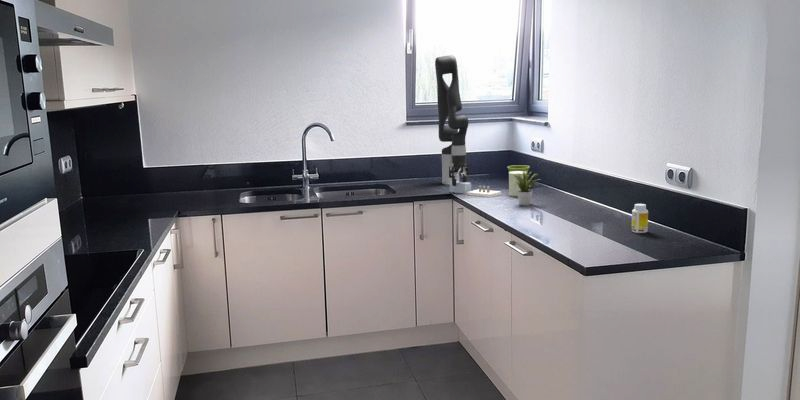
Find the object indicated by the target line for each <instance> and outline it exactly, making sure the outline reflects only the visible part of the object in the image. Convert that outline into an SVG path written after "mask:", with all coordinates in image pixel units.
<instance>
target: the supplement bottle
mask: <svg viewBox="0 0 800 400" xmlns="http://www.w3.org/2000/svg"><path fill="white" fill-rule="evenodd" d="M648 226H649V210H648V209H647V204H645V203H635V204H634V207H633V209H632V210H631V231H632V232H633V233H635V234H645V233H647V232H648V231H649V229H648V228H649V227H648Z"/></svg>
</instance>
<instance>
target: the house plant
mask: <svg viewBox="0 0 800 400" xmlns="http://www.w3.org/2000/svg"><path fill="white" fill-rule="evenodd" d="M532 171H533V170H531V171H530V172H529V173H527V172H526V173H525V171H523V178H522V177H520V176H521V175H520V174H519V173H518V174H519V175H520V176H519V175H518V174H517V175H518V177H519V178H518V177H517V176H516V175H514V177H515V178H516V179H517V180H519V181H518V182H519V183H520V184H519V183H518V182H513V183H516V184H518V186H519V188H520V189H521V190H518V191H517V194H518V197H517V199H518V205H520V206H530V205H531V204H532V197H533V190H530V189H531V188H532V187H533V186H534V185H536V186H539V184H537V181H542V180H543V179H541V178H538V179H534V178H535V177H537V176H538V173H537V172H536V173H534V174H533V175H532V176H531V177H530V178H529V176H530V174H531V173H532ZM521 178H522V179H521ZM522 181H523V182H522ZM526 181H527V183H526ZM516 184H515V185H514V186H515V187H517V186H516Z"/></svg>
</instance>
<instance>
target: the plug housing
mask: <svg viewBox="0 0 800 400" xmlns="http://www.w3.org/2000/svg"><path fill="white" fill-rule="evenodd" d="M469 191H472V182H469V181H468V182H462V181H459V182H457V181H456V186H452V182H451V183H450V185H449V193H453V192H454V193H455V194H466V195H467V192H469Z"/></svg>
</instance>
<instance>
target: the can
mask: <svg viewBox="0 0 800 400" xmlns="http://www.w3.org/2000/svg"><path fill="white" fill-rule="evenodd" d="M518 173H519V174H520V175H521V176H520V175H519V174H518ZM525 173H526V172H525ZM517 174H518V175H519V176H520V177H522V178H523V171H512V172H509V171H508V196H509V197H517V198H518V194H517V191H518V190H521V189H520V188H519V186H518V184H516V183H513V182H518V181H519V180H517V179H516V178H515V177H514V175H516V176H517V177H518V175H517ZM518 178H519V177H518ZM522 178H521V179H522ZM527 181H528V180H527ZM527 181H526V183H527ZM522 182H523V181H522ZM518 183H519V182H518ZM515 184H516V186H517V187H515V186H514V185H515ZM519 184H520V183H519Z"/></svg>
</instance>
